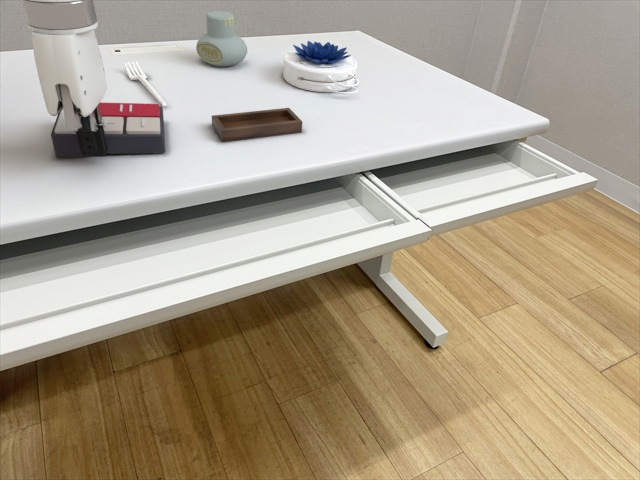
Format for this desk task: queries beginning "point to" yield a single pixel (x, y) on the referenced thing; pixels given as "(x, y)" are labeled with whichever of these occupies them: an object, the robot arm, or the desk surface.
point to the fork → (143, 81)
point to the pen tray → (256, 124)
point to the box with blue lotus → (320, 68)
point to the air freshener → (221, 41)
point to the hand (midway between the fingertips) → (95, 153)
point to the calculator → (117, 130)
